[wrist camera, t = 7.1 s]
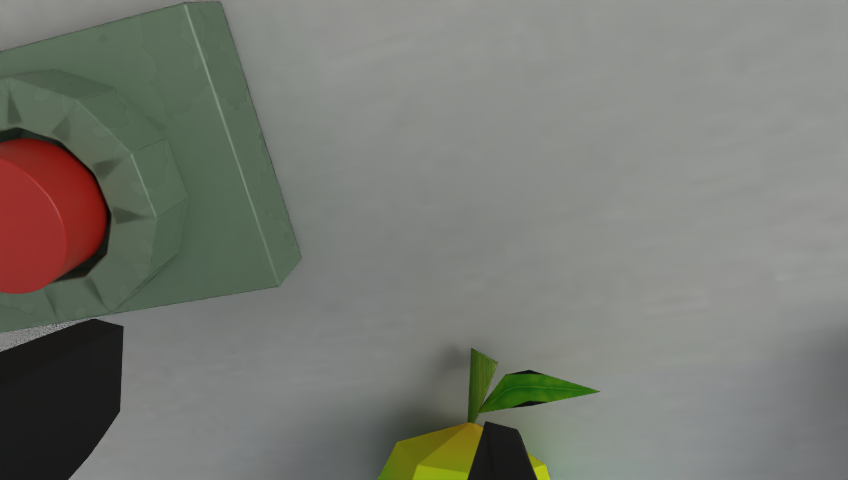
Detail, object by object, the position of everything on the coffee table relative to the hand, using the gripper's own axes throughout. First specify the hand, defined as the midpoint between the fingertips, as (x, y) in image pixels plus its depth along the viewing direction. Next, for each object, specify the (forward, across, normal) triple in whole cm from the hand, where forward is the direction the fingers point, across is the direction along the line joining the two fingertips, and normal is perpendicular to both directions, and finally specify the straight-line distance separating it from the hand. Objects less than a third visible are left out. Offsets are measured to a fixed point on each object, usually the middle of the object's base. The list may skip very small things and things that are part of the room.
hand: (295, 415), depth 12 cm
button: (+5, +9, -1) cm, 10 cm away
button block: (+9, +9, 0) cm, 12 cm away
